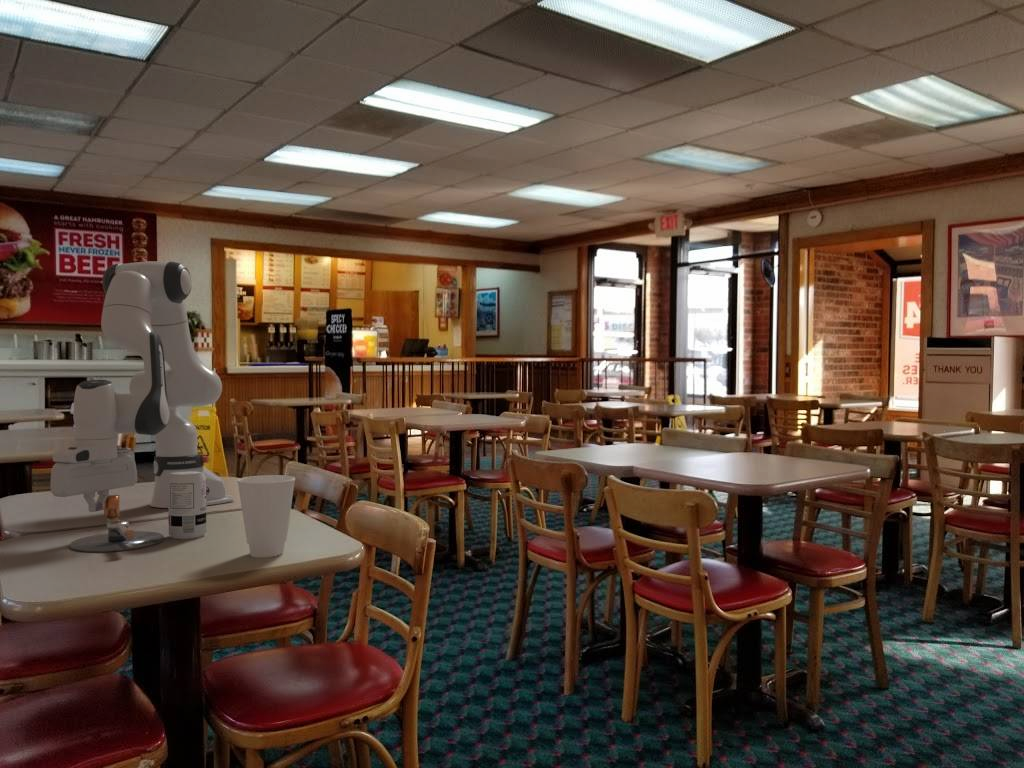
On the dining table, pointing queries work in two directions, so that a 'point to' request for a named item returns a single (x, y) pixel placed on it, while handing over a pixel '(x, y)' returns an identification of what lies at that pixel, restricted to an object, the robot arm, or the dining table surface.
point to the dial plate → (116, 542)
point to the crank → (116, 517)
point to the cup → (266, 512)
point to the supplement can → (187, 504)
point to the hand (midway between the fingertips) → (96, 510)
